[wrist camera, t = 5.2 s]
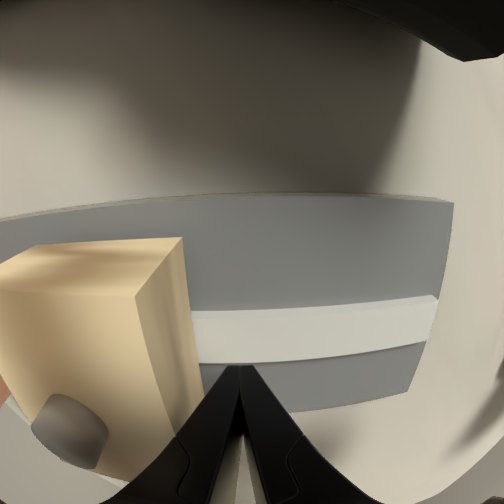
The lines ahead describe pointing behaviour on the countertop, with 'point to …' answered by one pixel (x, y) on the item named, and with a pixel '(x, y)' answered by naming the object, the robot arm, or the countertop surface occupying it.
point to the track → (286, 282)
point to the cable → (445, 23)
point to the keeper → (101, 349)
